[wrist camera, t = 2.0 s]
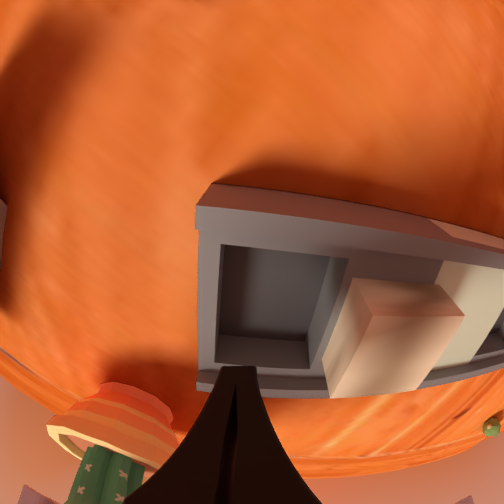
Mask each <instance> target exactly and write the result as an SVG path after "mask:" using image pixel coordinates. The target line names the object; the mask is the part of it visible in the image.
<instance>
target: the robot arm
mask: <svg viewBox="0 0 504 504" xmlns="http://www.w3.org/2000/svg"><path fill="white" fill-rule="evenodd" d="M18 504H59V503H58V502H56V501H54V500H52V499H50V498H48V497H45V496H44V495H42V494H40V493H38V492H37V491H35V490H33V489H32V488H30V487H28V486H27V485H24V486H23V489H22V492H21V495H20V498H19V502H18ZM122 504H322V503H321V502H320V501H319V500H318V498H317V497H316V496H315V495H314V493H313V492H312V491H311V490H310V489H309V487H308V486H307V484H306V483H305V482H304V480H303V479H302V477H301V476H300V474H299V473H298V471H297V470H296V469H295V467H294V466H293V464H292V462H291V461H290V459H289V457H288V456H287V454H286V452H285V450H284V449H283V447H282V445H281V443H280V441H279V439H278V437H277V435H276V433H275V431H274V428H273V426H272V424H271V422H270V419H269V417H268V414H267V411H266V408H265V406H264V403H263V400H262V396H261V393H260V389H259V384H258V379H257V367H255V366H222V367H221V368H220V371H219V374H218V377H217V379H216V382H215V384H214V387H213V389H212V391H211V393H210V396H209V397H208V399H207V401H206V403H205V405H204V407H203V409H202V411H201V413H200V415H199V416H198V418H197V420H196V421H195V423H194V425H193V426H192V428H191V429H190V431H189V432H188V434H187V435H186V437H185V438H184V440H183V441H182V442H181V444H180V445H179V446H178V448H177V449H176V450H175V451H174V453H173V454H172V455H171V456H170V457H169V459H168V460H167V461H166V462H165V463H164V464H163V465H162V466H161V467H160V468H159V469H158V470H157V471H156V472H155V473H154V474H153V475H152V476H151V477H150V478H149V479H148V480H147V481H146V482H145V483H144V484H142V485H141V486H140V487H139V488H137V489H136V490H135V491H134V492H132V493H131V494H130V495H129V496H127V497H126V498H125V499H124V501H123V503H122ZM455 504H474V503H473V499H472V496H468V497H466V498H464V499H462V500H460V501H458V502H457V503H455Z"/></svg>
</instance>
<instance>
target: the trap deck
mask: <svg viewBox="0 0 504 504" xmlns="http://www.w3.org/2000/svg"><path fill="white" fill-rule="evenodd" d="M195 229H198V230H199V246H198V293H197V327H198V375H197V380H196V390H197V391H204V392H211V391H212V389H213V387H214V384H215V382H216V379H217V377H218V374H219V371H220V368H221V367H222V366H255V367H257V379H258V384H259V389H260V393H261V396H262V397H267V398H330V396H329V391H328V386H327V382H326V377H325V372H324V368H323V363H322V358H323V355H324V353H325V350H326V348H327V346H328V343H329V341H330V338H331V336H332V333H333V331H334V328H335V326H336V323H337V321H338V318H339V315H340V313H341V310H342V307H343V305H344V302H345V299H346V296H347V293H348V290H349V288H350V285H351V282H352V279H353V277H354V278H365V279H376V280H387V281H398V282H410V283H422V284H435V285H440V286H441V287H442V288H443V289H444V290H445V292H446V293H447V294H448V295H449V296H450V298H451V299H452V300H453V301H454V302H455V304H456V305H457V306H458V307H459V308H460V310H461V311H462V312H463V313H464V315H465V318H464V319H463V321H462V323H461V325H460V326H459V328H458V330H457V331H456V333H455V335H454V336H453V338H452V339H451V341H450V343H449V344H448V346H447V347H446V349H445V350H444V352H443V353H442V355H441V356H440V358H439V359H438V361H437V362H436V364H435V365H434V366H433V368H432V369H431V371H430V372H429V373H428V375H427V376H426V377H425V379H424V380H423V381H422V382H421V384H420V385H419V386H418V388H417V389H422V388H427V387H433V386H438V385H442V384H447V383H451V382H456V381H460V380H464V379H468V378H471V377H475V376H479V375H482V374H486V373H489V372H492V371H495V370H498V369H501V368H504V239H503V238H500V237H497V236H493V235H490V234H487V233H483V232H480V231H476V230H473V229H469V228H466V227H462V226H458V225H454V224H451V223H447V222H443V221H439V220H435V219H431V218H427V217H422V216H418V215H414V214H409V213H405V212H400V211H395V210H391V209H386V208H381V207H376V206H371V205H366V204H360V203H355V202H350V201H344V200H338V199H332V198H326V197H320V196H314V195H307V194H300V193H294V192H286V191H279V190H271V189H263V188H255V187H246V186H237V185H227V184H217V183H211V185H210V186H209V187H208V189H207V190H206V192H205V193H204V194H203V196H202V197H201V199H200V200H199V202H198V203H197V204H196V212H195Z"/></svg>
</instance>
